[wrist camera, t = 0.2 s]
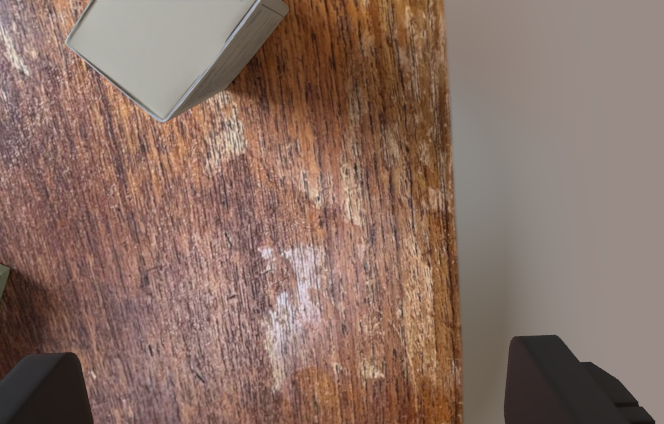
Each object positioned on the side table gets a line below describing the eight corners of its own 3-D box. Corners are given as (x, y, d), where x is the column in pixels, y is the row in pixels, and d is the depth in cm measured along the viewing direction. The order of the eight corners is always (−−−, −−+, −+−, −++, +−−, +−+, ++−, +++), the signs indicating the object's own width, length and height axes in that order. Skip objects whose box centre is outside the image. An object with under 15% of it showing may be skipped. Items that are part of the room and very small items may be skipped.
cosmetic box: (231, -48, 27) (165, -121, 16) (294, 11, 28) (276, -16, 16) (162, 44, 28) (54, 39, 17) (224, 97, 29) (162, 127, 18)
